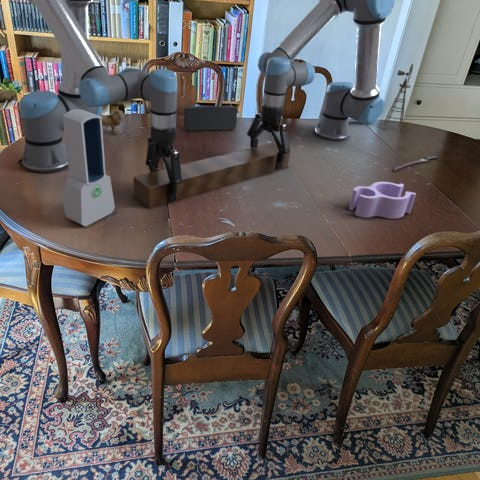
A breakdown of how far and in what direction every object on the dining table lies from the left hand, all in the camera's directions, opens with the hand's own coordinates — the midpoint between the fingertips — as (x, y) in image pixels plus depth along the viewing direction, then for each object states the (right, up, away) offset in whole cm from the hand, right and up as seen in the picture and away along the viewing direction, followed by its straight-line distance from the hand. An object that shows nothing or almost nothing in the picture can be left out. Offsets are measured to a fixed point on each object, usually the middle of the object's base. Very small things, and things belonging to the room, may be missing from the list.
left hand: (163, 194), depth 148 cm
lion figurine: (-29, +29, +41) cm, 58 cm away
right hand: (+34, +15, +25) cm, 45 cm away
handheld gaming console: (+11, +34, +55) cm, 65 cm away
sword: (+96, +16, +42) cm, 106 cm away
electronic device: (-19, -7, -14) cm, 24 cm away
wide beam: (+17, +6, +13) cm, 22 cm away
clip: (+70, -5, +6) cm, 70 cm away
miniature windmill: (+99, +41, +80) cm, 134 cm away
